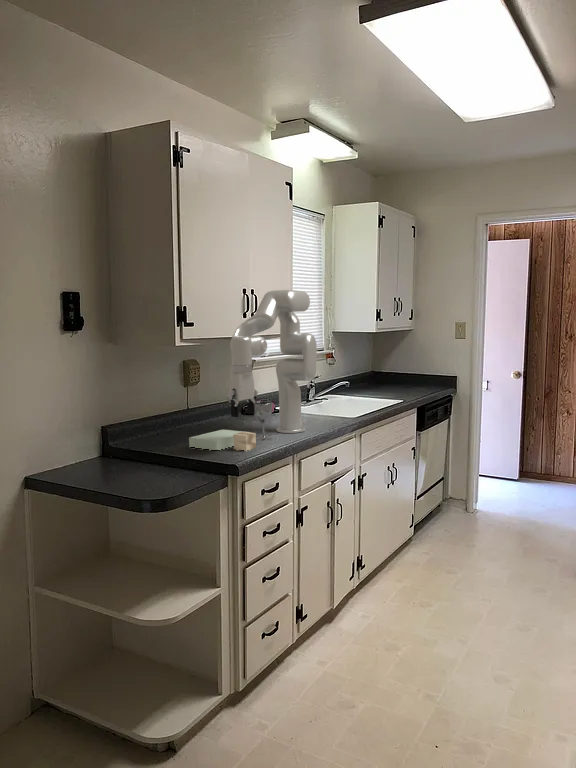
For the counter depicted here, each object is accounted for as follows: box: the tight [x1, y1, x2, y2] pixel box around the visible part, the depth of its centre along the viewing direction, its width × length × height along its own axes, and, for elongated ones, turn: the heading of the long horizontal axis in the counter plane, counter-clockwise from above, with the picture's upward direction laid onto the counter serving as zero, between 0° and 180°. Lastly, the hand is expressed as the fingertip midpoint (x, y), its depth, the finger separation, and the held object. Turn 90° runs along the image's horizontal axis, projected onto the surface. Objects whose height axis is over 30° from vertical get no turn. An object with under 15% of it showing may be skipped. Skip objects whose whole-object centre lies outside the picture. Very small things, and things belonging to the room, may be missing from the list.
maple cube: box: [233, 431, 257, 452], centre depth 236 cm, size 6×6×6 cm
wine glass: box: [253, 400, 273, 441], centre depth 255 cm, size 8×8×15 cm
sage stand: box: [188, 429, 245, 451], centre depth 246 cm, size 20×14×4 cm
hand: (243, 415), depth 235 cm, fingers open, 9 cm apart
